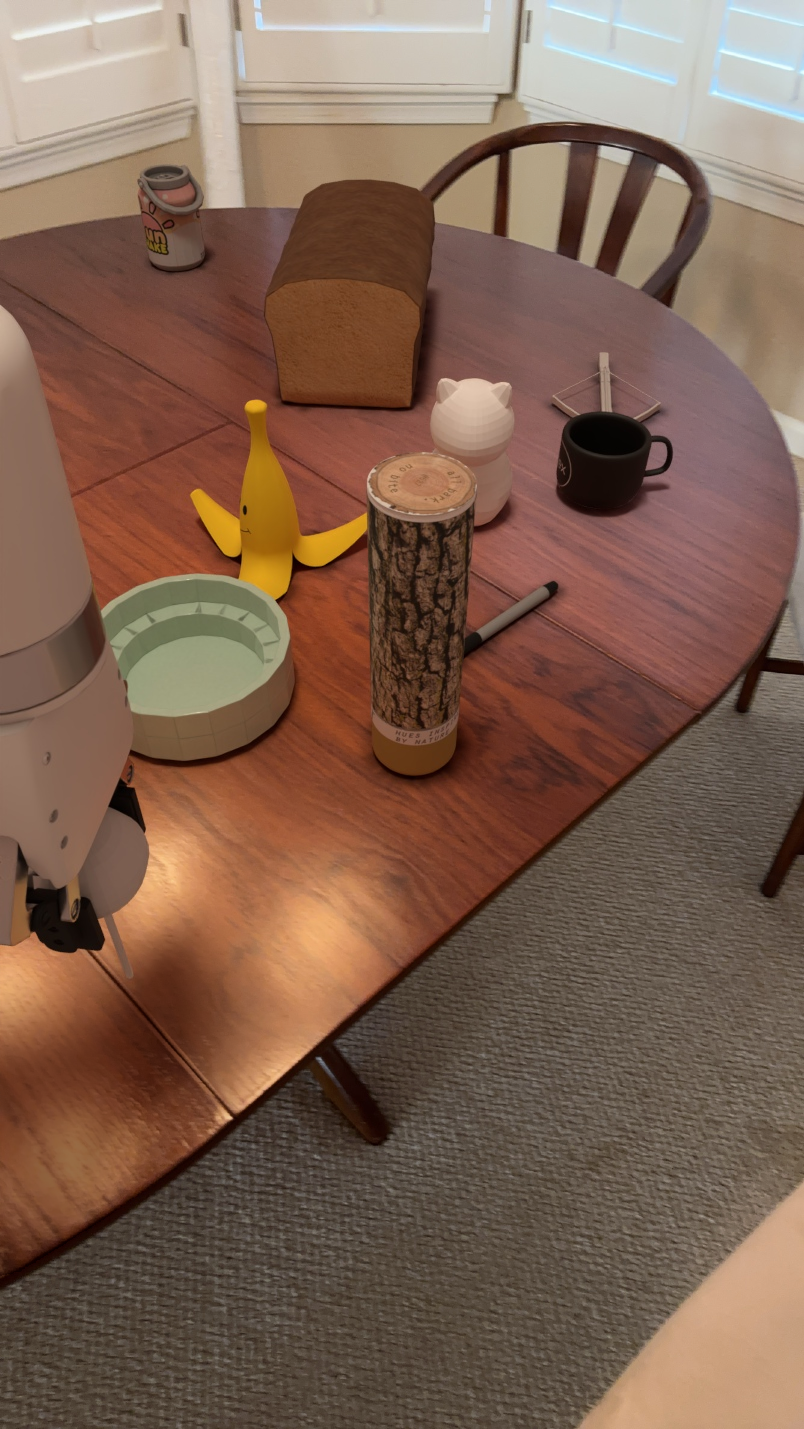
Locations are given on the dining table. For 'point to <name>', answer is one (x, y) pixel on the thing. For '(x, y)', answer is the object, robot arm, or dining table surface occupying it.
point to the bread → (352, 295)
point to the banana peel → (269, 519)
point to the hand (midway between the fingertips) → (96, 884)
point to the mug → (605, 459)
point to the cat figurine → (477, 437)
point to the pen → (509, 615)
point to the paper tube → (418, 605)
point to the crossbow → (604, 391)
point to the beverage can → (171, 216)
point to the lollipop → (112, 872)
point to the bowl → (200, 663)
